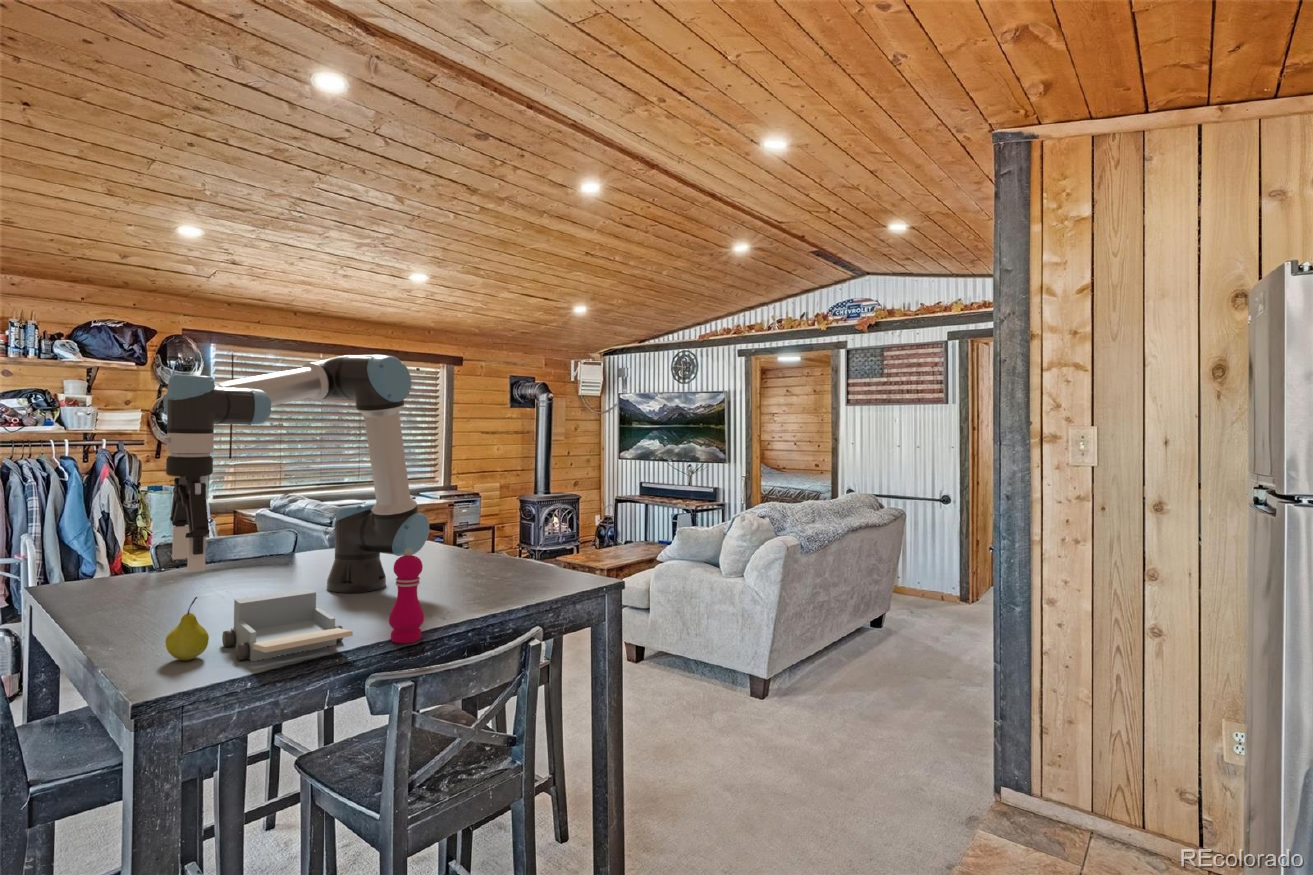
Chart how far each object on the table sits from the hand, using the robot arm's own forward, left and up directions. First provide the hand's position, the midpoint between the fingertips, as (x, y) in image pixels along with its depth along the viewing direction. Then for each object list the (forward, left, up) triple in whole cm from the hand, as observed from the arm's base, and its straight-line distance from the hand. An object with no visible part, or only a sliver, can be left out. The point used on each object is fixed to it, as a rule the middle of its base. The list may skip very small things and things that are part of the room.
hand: (188, 564), depth 136 cm
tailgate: (+9, +17, -15) cm, 25 cm away
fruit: (0, 0, -19) cm, 19 cm away
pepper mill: (+14, +38, -19) cm, 45 cm away
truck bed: (+1, +17, -19) cm, 25 cm away
